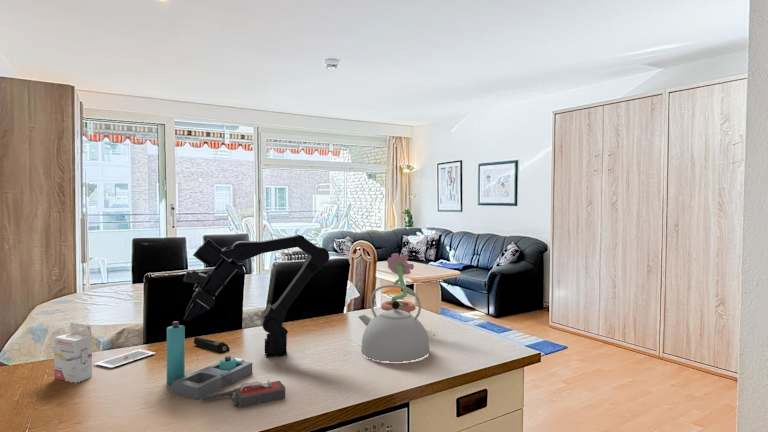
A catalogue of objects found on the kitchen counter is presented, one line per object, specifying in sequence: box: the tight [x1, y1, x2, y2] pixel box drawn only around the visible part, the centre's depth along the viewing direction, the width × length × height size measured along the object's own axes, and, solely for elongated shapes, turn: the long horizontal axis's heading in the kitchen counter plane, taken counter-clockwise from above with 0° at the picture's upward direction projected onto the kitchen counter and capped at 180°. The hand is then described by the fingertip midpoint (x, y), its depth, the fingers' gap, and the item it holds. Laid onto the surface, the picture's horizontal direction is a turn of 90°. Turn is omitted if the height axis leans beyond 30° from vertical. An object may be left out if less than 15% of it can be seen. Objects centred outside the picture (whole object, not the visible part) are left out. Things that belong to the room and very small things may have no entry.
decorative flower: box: [380, 252, 417, 314], centre depth 181 cm, size 15×14×30 cm
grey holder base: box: [171, 355, 253, 400], centre depth 123 cm, size 20×9×6 cm, turn 156°
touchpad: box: [94, 348, 156, 368], centre depth 140 cm, size 8×15×2 cm, turn 156°
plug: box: [166, 320, 186, 387], centre depth 123 cm, size 4×4×16 cm
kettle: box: [358, 284, 430, 362], centre depth 151 cm, size 25×23×22 cm
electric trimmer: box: [193, 336, 230, 354], centre depth 153 cm, size 4×16×3 cm, turn 59°
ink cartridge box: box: [54, 322, 93, 384], centre depth 125 cm, size 9×5×15 cm, turn 71°
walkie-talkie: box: [200, 380, 286, 409], centre depth 113 cm, size 9×4×20 cm
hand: (185, 316), depth 137 cm, fingers open, 9 cm apart
